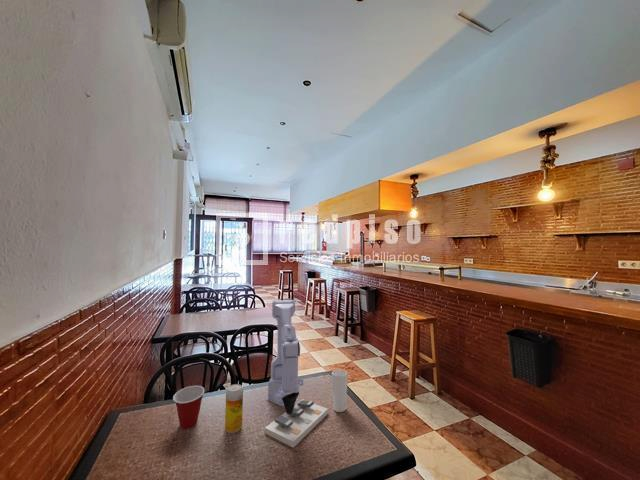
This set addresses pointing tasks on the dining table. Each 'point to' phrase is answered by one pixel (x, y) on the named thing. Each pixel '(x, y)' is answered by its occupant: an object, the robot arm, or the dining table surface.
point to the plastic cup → (188, 405)
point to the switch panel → (297, 425)
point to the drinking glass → (339, 390)
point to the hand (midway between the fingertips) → (289, 412)
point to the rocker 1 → (284, 421)
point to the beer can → (234, 408)
